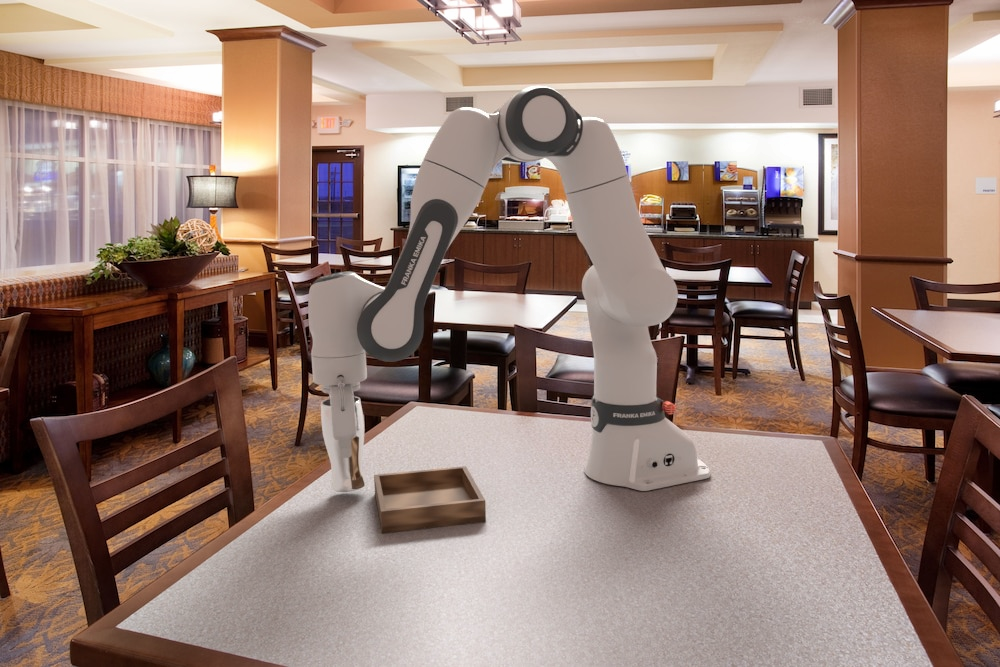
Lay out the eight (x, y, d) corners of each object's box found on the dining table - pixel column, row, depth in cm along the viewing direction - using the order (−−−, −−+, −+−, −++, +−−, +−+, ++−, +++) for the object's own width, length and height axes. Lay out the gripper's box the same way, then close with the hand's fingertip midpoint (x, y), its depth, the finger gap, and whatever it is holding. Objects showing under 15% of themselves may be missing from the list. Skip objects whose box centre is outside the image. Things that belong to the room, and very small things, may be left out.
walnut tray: (466, 485, 128) (465, 466, 127) (485, 521, 112) (485, 500, 112) (374, 494, 124) (373, 474, 123) (381, 533, 109) (381, 511, 108)
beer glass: (360, 493, 120) (351, 406, 117) (321, 492, 121) (312, 406, 118) (375, 478, 126) (367, 395, 124) (338, 477, 128) (330, 395, 125)
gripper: (362, 381, 111) (367, 467, 113) (356, 357, 131) (361, 430, 133) (319, 385, 110) (326, 472, 112) (320, 359, 129) (326, 434, 131)
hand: (345, 449), depth 123 cm, fingers closed on beer glass, 6 cm apart
